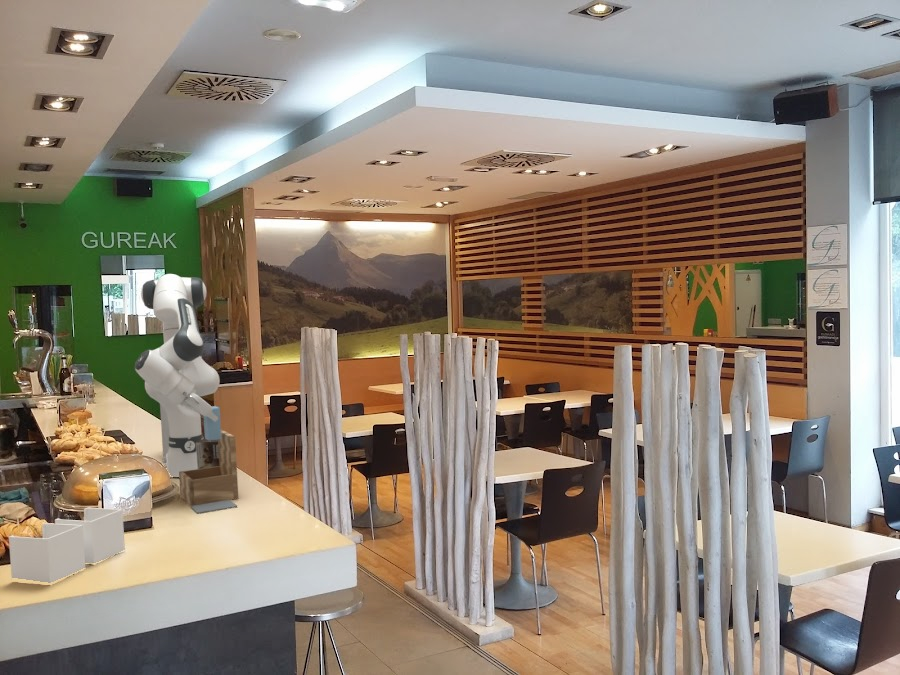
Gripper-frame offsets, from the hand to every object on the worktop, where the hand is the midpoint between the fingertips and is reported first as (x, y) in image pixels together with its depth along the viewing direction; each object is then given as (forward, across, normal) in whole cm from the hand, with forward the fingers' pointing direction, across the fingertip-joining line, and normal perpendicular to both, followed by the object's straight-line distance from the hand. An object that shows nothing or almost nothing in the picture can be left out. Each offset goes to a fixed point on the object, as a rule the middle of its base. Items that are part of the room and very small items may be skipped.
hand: (213, 418), depth 260 cm
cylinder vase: (+21, +75, +16) cm, 79 cm away
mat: (+14, -14, +21) cm, 29 cm away
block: (+4, 0, +5) cm, 6 cm away
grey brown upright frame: (+20, +14, +16) cm, 29 cm away
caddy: (+15, 0, +20) cm, 25 cm away
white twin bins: (-16, -47, +51) cm, 71 cm away
